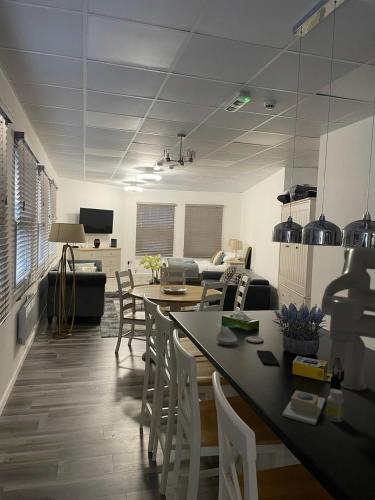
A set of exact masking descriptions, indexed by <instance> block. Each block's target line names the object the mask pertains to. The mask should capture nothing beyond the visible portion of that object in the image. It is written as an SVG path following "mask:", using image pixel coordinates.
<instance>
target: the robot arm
mask: <svg viewBox="0 0 375 500" xmlns="http://www.w3.org/2000/svg"><path fill="white" fill-rule="evenodd" d="M343 259H344V262H343V268H342V272H341V274H340V275H339V276H336V277H335V278H334V279H332V280H331V281H330V282H329V283H328V284H327V285H326V287H325V290H324V292H323V296H322V299H321V303H320V304H321V305H320V308H321V312H323V314H324V315H326V316H330V321H329V322H330V323H329V332H328V333H329V334H328V335H329V336H328V339H330V340H331V342H330V348H329V349H330V351H329V357H328V358H329V361H328V369H329V370H331V369H332V370H331V375H330V385H329V388H330V389H336V390H341V388H343V389H346V390H352V391H357V392H359V391H365V390H366V389H367V387H368V385H367V384H366V383H365V382H364V373H365V372H364V371H365V362H366V361H365V360H366V344H365V342H364V340H363V339H362V337H364V338H368V339H369V338H371V339H375V315H374V314H375V289H374V288H373V289H372V288H371V281H372V278H371V275H370V273H369V272H368V271H367V270H375V247H365V246H350V247H346V248H345V250H344V251H343ZM346 290H347V297H346V296H339V295H336V294H338V293H340V292H342V291H346ZM365 312H371V313H374V314H367V313H365Z"/></svg>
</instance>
